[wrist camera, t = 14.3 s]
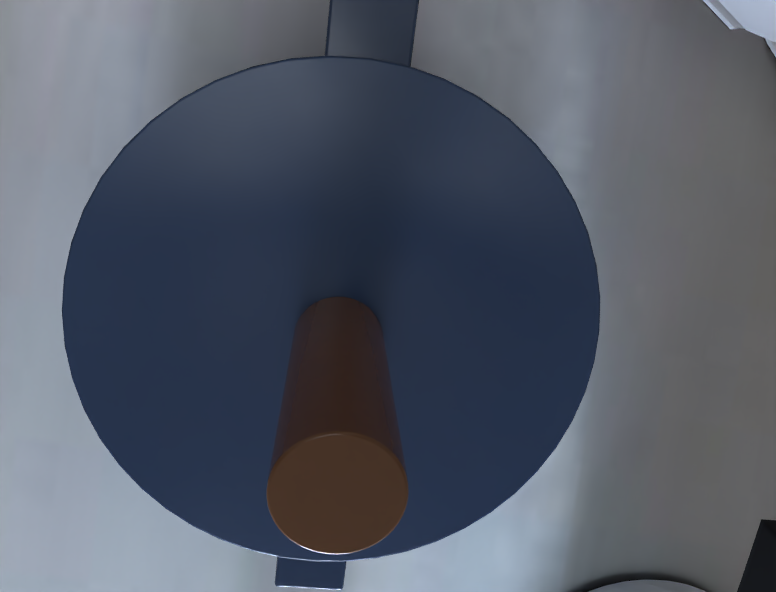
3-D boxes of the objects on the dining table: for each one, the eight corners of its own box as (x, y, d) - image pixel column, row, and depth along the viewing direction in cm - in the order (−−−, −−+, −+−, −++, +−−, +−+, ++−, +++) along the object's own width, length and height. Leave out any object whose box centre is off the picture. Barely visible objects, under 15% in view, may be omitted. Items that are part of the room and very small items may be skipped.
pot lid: (637, 95, 20) (873, 110, 11) (535, 552, 24) (645, 819, 16) (75, 19, 18) (-169, -35, 10) (77, 523, 23) (-86, 800, 14)
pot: (547, 31, 28) (648, 8, 19) (467, 470, 33) (515, 615, 24) (173, -23, 26) (86, -75, 17) (158, 446, 32) (87, 591, 23)
